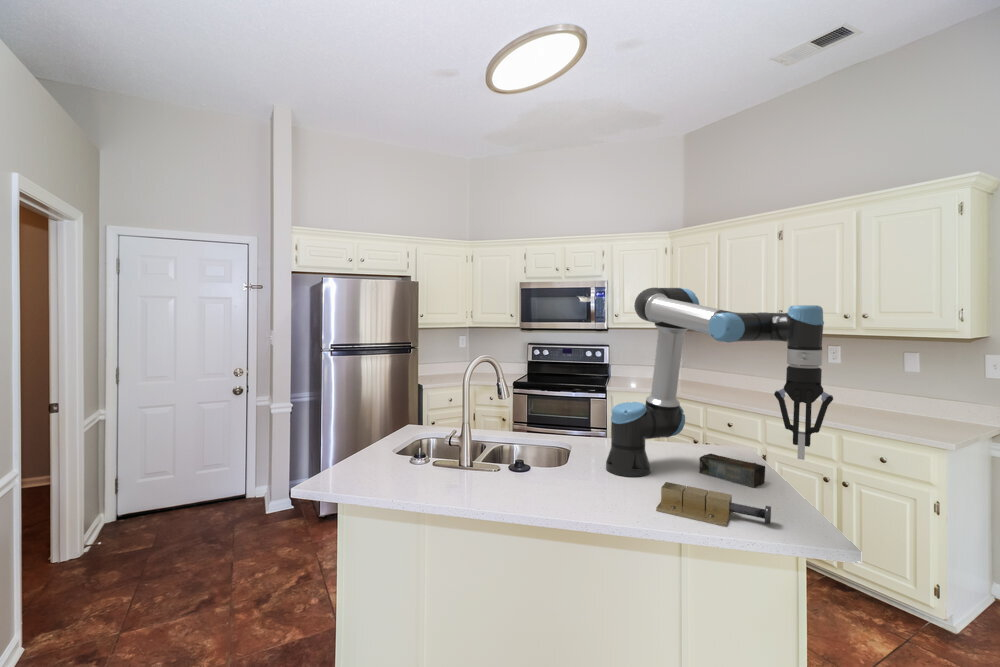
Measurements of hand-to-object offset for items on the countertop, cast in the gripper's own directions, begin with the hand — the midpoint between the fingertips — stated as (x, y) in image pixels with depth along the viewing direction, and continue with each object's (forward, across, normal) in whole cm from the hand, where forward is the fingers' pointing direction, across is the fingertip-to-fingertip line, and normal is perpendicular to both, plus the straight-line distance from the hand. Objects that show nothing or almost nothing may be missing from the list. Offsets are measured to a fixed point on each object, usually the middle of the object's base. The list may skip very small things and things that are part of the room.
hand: (801, 457), depth 123 cm
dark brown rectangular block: (+20, -20, +33) cm, 44 cm away
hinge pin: (+19, -16, 0) cm, 25 cm away
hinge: (+19, -25, 0) cm, 31 cm away
